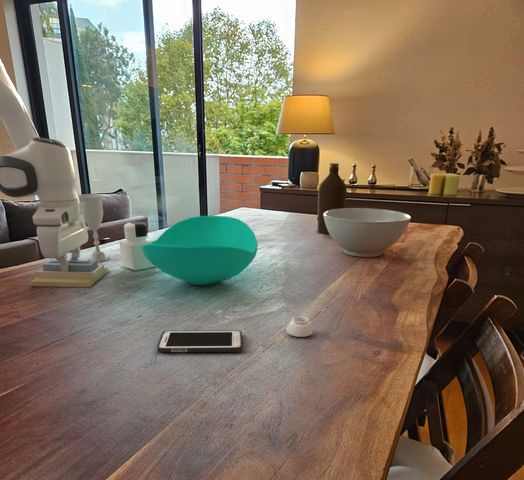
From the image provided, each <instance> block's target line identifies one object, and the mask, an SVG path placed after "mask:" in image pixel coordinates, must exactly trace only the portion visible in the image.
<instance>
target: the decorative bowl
mask: <svg viewBox="0 0 524 480" xmlns="http://www.w3.org/2000/svg"><path fill="white" fill-rule="evenodd" d="M411 219H412V217H411V216H410V214H408V213H405V212H401V211H396V210H391V209H383V208H382V209H381V208H370V207H369V208H367V207H346V208H341V209H332V210H328V211H325V212H324V220H325V224H326V227H327V229H328V232H329V234H328V235H330V237H331V239H332V240H333V241H334V242H335V243H336V244H337V245H338V246H339V247H341V248H342V249H343V250H342V251H343V253H344V254H346V255H349V256H353V257H358V258H359V257H361V258H374V257H375V258H376V257H379V256H382V255H383V252H384V251H386V250H388V249H390V248H391V247H392V246H394V245H395V244H396V243H397V242H398V240H400V239H401V238H402V236H404V233H405V232H406V230H407V228H408V227H409V224H410V222H411Z"/></svg>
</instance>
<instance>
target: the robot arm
mask: <svg viewBox="0 0 524 480" xmlns="http://www.w3.org/2000/svg"><path fill="white" fill-rule="evenodd" d="M0 121H1V122H2V124H3V126H4V127H5V130H6V132H7V134H8V136H9V138H10V140H11V141H12V144H13V145H14V147H15V149H16V150H14V151H12V152H8V153H5V154H3V155H0V192H1V193H2V194H3V195H5V196H7V197H11V198H16V199H19V198H21V199H23V198H27V197H34V196H37V198H38V201H39V206H38V208H37V210H36V211H35V212H34V213H33V215H32V222H33V225H35V226H37V227H36V235H37V242H38V245H39V249H40V252H41V255H42V257H44V259H47V260H57V261H58V263H59V264H60V267H61V271H62V272H68V271H69V270H70V263H68V262H67V260H68V259H67V258H68V254H69V253H71V254H70V255H71V257H70V258H69V260H81V259H80V255H81V246H83V245H84V244H86V243H87V242H88V241H89V232H88V228H87V227H88V226H87V223H86V222H85V219H84V217H83V215H82V213H81V206H80V200H79V197H78V196H79V195H78V193H77V190H76V189H77V188H76V173H75V167H74V163H73V159H72V155H71V152H70V150H69V148H68V146H67V145H66V144H65V143H64V142H62V141H60V140H57V139H52V138H45V137H40V136H39V133H38V131H37V129H36V127H35V125H34V122H33V121H32V119H31V117H30V115H29V112H28V110H27V108H26V106H25V104H24V102H23V99H22V98H21V96H20V94H19V93H18V91H17V89H16V87H15V86H14V84H13V83H12V81H11V79H10V77H9V75H8V74H7V71H6V69H5V66H4V64H3V62H2V60H1V59H0Z"/></svg>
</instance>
